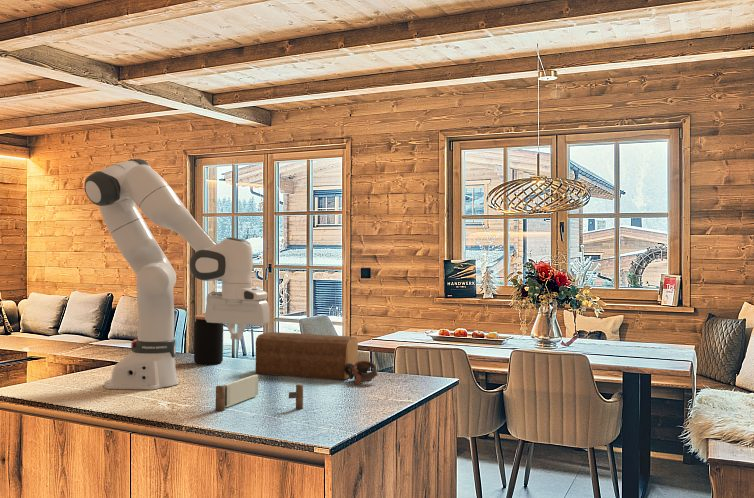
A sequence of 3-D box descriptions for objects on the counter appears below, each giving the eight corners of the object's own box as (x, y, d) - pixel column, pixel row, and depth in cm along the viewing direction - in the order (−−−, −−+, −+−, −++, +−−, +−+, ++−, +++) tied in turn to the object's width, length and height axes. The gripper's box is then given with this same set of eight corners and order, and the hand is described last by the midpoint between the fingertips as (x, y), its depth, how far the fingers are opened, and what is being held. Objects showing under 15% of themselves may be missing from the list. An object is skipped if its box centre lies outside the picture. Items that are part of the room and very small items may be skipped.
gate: (226, 407, 194) (227, 385, 194) (223, 406, 194) (223, 384, 194) (258, 395, 210) (258, 374, 210) (254, 394, 210) (254, 374, 210)
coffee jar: (228, 362, 268) (229, 315, 268) (208, 366, 259) (208, 317, 259) (208, 359, 273) (209, 313, 273) (187, 363, 264) (188, 315, 264)
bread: (270, 367, 259) (271, 329, 259) (358, 374, 250) (359, 334, 250) (253, 374, 246) (254, 333, 246) (345, 381, 236) (346, 338, 236)
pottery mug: (379, 381, 238) (382, 363, 234) (369, 399, 230) (371, 379, 226) (347, 370, 241) (349, 351, 237) (336, 387, 234) (337, 367, 230)
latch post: (288, 410, 193) (289, 386, 193) (288, 407, 196) (288, 384, 196) (303, 409, 194) (303, 386, 194) (302, 407, 196) (303, 384, 196)
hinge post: (215, 411, 190) (215, 387, 190) (215, 409, 192) (216, 385, 192) (224, 411, 191) (224, 387, 190) (224, 409, 193) (225, 385, 193)
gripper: (201, 291, 209) (200, 338, 209) (261, 294, 202) (260, 342, 202) (213, 290, 215) (212, 335, 215) (272, 293, 208) (271, 340, 208)
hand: (236, 339), depth 208 cm, fingers closed
